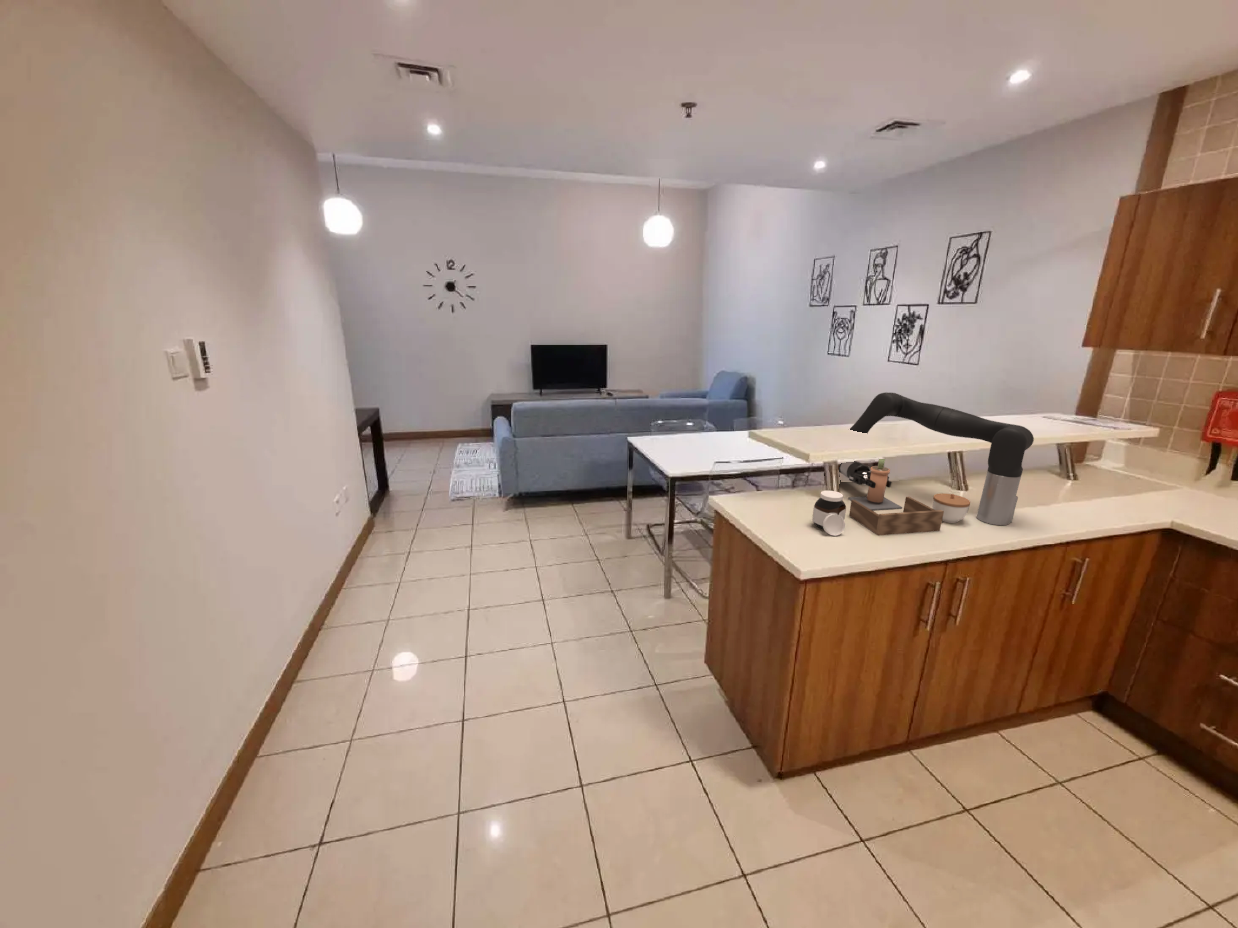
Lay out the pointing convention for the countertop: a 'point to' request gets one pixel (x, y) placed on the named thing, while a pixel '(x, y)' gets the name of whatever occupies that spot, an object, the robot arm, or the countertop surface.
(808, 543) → the countertop surface
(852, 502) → the open wooden tray
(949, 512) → the lidded jar
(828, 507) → the spread jar
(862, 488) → the countertop surface
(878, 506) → the rubber mat
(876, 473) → the terracotta pot
